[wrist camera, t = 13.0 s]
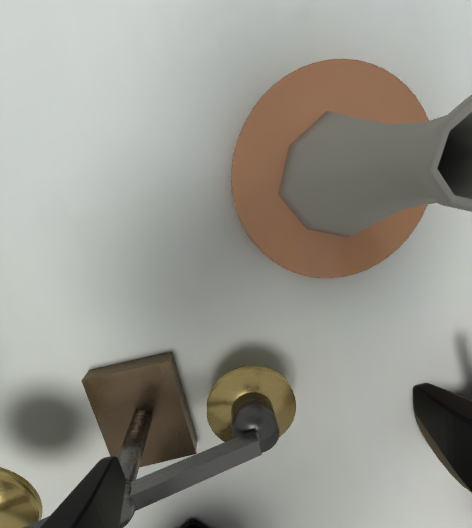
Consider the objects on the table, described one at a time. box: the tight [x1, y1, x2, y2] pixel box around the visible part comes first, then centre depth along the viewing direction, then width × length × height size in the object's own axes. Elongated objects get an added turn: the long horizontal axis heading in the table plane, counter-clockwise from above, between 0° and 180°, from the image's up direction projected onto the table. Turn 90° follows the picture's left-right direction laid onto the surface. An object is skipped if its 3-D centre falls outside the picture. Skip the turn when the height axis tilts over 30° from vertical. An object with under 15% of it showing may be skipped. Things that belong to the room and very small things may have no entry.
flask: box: [278, 95, 472, 237], centre depth 13 cm, size 7×7×10 cm
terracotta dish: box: [231, 59, 429, 278], centre depth 18 cm, size 13×13×1 cm
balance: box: [0, 352, 296, 528], centre depth 17 cm, size 22×8×9 cm, turn 101°
